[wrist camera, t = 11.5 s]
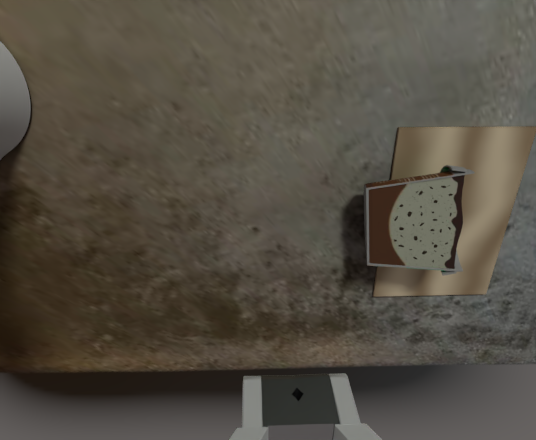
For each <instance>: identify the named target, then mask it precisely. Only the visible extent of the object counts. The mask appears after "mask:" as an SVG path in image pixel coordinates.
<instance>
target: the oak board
mask: <svg viewBox="0 0 536 440" xmlns="http://www.w3.org/2000/svg"><path fill="white" fill-rule="evenodd" d="M535 134H536V127H398V131H397V137H396V144H395V150H394V157H393V164H392V170H391V177H390V180H395V179H402V178H408V177H415V176H422V175H428V174H435V173H440V171H441V169H442V167H444V166H445V165H450V166H458V167H463V168H465V169H470V170H472V171H473V172H475V173H474V174H468V175H465V177H464V185H463V190H462V213H463V226H462V230H461V234H460V237H459V240H458V244H457V248H456V249H457V254H458V258H459V261H460V264H461V267H462V269H463V271H461V272H457V273H456V274H450V275H444V276H443V275H442V273H441V270H426V269H412V268H397V267H382V266H377V270H376V276H375V283H374V290H373V296H374V297H382V296H427V295H471V294H486V292H487V289H488V286H489V283H490V279H491V276H492V273H493V270H494V266H495V263H496V260H497V257H498V253H499V250H500V247H501V244H502V240H503V237H504V234H505V231H506V227H507V224H508V221H509V218H510V215H511V211H512V208H513V205H514V202H515V198H516V195H517V192H518V189H519V185H520V182H521V179H522V176H523V172H524V169H525V166H526V163H527V159H528V156H529V153H530V150H531V146H532V143H533V140H534V137H535Z"/></svg>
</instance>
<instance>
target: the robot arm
mask: <svg viewBox="0 0 536 440" xmlns="http://www.w3.org/2000/svg"><path fill="white" fill-rule="evenodd" d="M30 113H31V104H30V95H29V91H28V87H27V84H26V81H25V78H24V76H23V73H22V71H21V69H20V67H19V66H18V64H17V62H16V60H15V59H14V57H13V56H12V55H11V53H10V52H9V51H8V49H7V48H6V47H5V46H4V45H3V43H2V42H1V41H0V160H1V159H2V157H4V156H5V155H6V154H7V153H8V152H10V151H11V150H12V149H14V148H15V147H16V146H17V145H18V144H19V142H20V141H21V140H22V138H23V136H24V135H25V133H26V131H27V128H28V125H29V121H30ZM229 440H382V439H381V438H380V437H379V436H378V435H377V434H376V433H375V432H374V431H373V430H372V429H371V428H370V427H369V426H368V425H367V424H361V423H360V419H359V416H358V412H357V409H356V405H355V402H354V398H353V394H352V391H351V388H350V384H349V380H348V377H347V375H346V374H345V373H344V374H310V375H294V376H244V378H243V403H242V428H236V430H235V431H234V432H233V434H232V435H231V437H230V438H229Z"/></svg>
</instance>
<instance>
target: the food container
mask: <svg viewBox="0 0 536 440" xmlns="http://www.w3.org/2000/svg"><path fill="white" fill-rule="evenodd" d="M474 173H475V172H473V171H472V170H470V169H465V168H463V167H458V166H450V165H445V166H444V167H442V169H441V171H440V173H435V174H428V175H422V176H415V177H408V178H402V179H395V180H388V181H381V182H375V183H368V184H365V185H364V228H365V246H366V259H367V265H368V266H382V267H397V268H412V269H426V270H441V273H442V275H443V276H444V275H450V274H456V273H457V272H461V271H463V269H462V267H461V264H460V261H459V258H458V254H457V249H456V248H457V244H458V240H459V237H460V234H461V230H462V226H463V213H462V190H463V185H464V177H465V175H468V174H474Z"/></svg>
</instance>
